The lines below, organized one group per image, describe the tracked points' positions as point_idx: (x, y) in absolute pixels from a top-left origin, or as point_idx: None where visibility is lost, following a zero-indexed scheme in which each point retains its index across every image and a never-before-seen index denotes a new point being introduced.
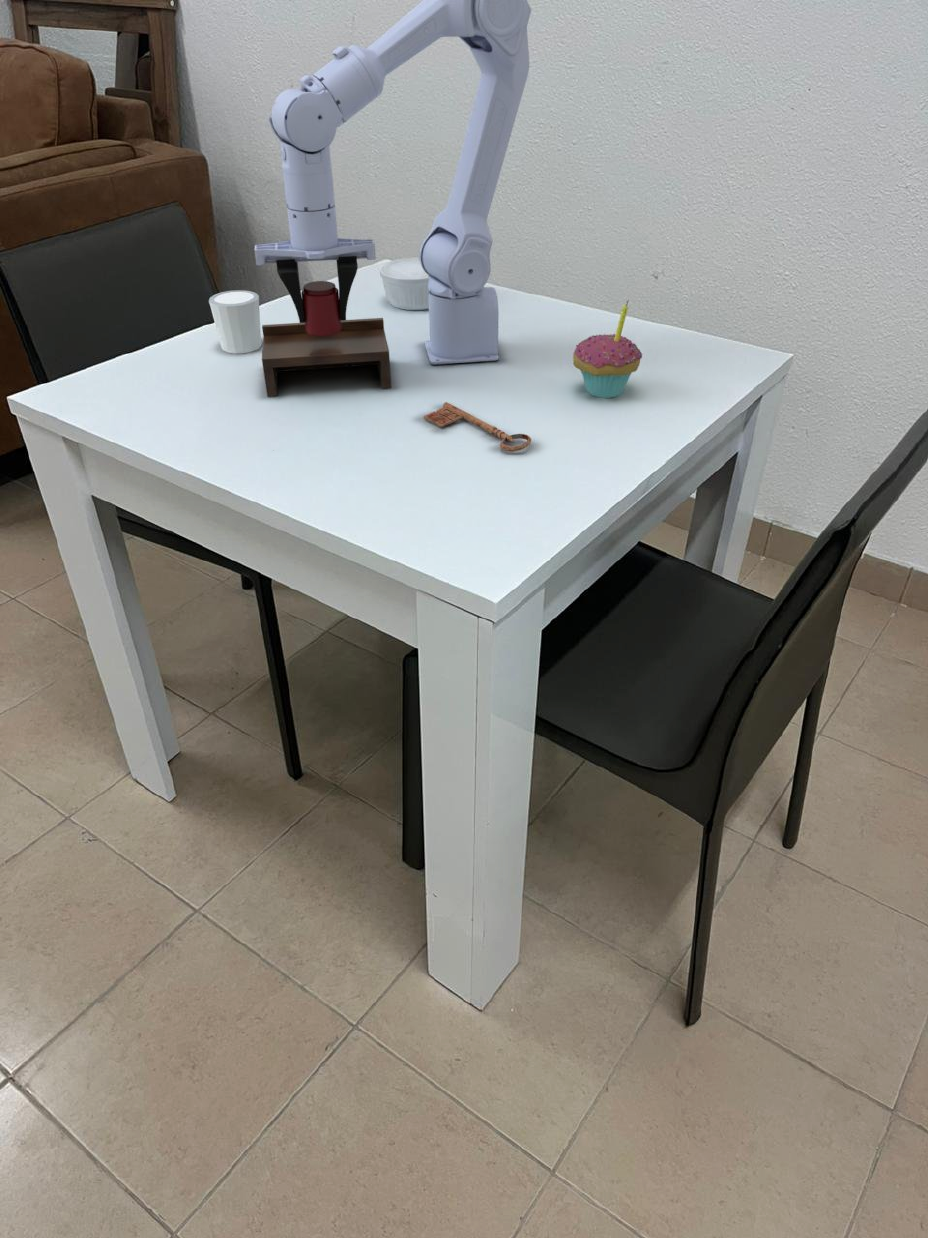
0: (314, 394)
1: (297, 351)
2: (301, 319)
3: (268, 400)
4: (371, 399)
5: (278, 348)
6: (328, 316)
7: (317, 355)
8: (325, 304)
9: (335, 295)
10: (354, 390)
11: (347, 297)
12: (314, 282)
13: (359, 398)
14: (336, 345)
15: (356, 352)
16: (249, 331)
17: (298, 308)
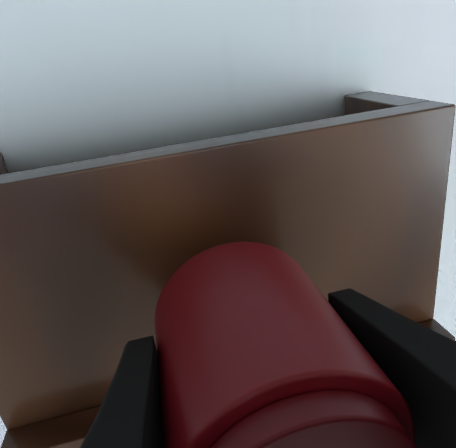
0: (231, 108)
1: (323, 186)
2: (351, 295)
3: (366, 63)
4: (19, 58)
5: (391, 214)
6: (214, 302)
7: (240, 143)
8: (242, 345)
9: (179, 438)
10: (101, 140)
11: (85, 439)
12: None
13: (69, 69)
14: (172, 255)
15: (64, 181)
16: None
17: (396, 318)
